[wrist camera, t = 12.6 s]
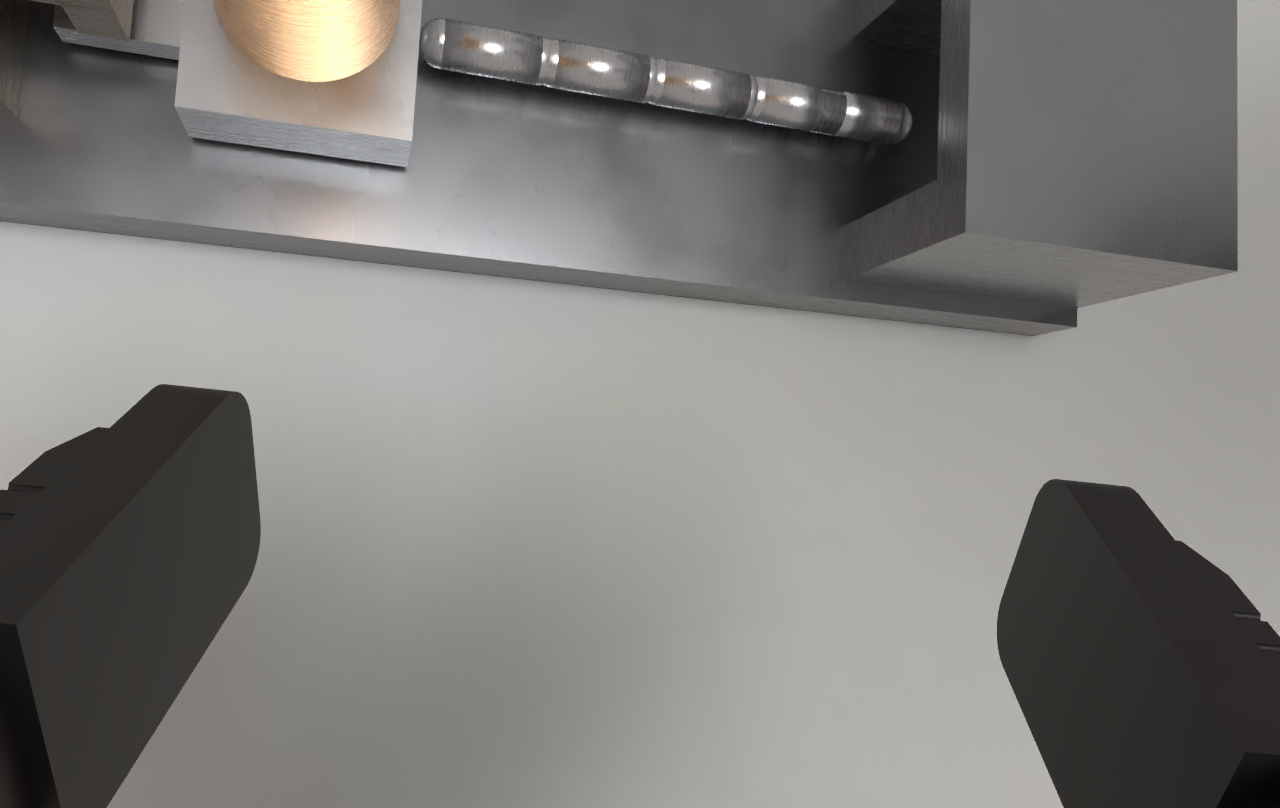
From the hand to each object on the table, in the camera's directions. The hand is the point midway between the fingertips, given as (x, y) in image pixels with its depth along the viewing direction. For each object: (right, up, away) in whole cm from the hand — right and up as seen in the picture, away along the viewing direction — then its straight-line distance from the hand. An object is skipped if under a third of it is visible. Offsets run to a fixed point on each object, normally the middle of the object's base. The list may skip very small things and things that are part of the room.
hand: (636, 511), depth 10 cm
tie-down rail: (-2, +10, +18) cm, 20 cm away
